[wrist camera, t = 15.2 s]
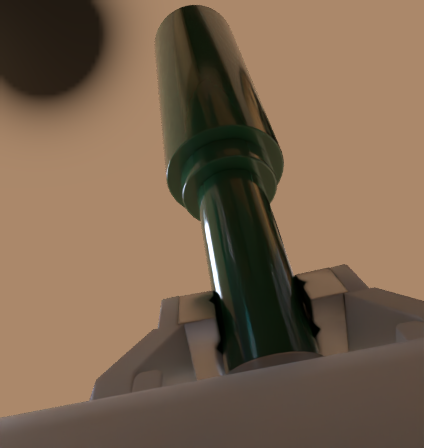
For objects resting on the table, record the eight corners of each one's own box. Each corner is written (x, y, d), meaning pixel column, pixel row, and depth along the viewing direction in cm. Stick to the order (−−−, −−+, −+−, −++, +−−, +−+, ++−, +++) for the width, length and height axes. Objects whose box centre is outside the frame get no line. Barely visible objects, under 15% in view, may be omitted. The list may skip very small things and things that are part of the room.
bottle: (229, -4, 20) (236, 76, 24) (145, 13, 20) (164, 90, 24) (430, 420, 7) (381, 469, 10) (174, 469, 7) (210, 501, 10)
